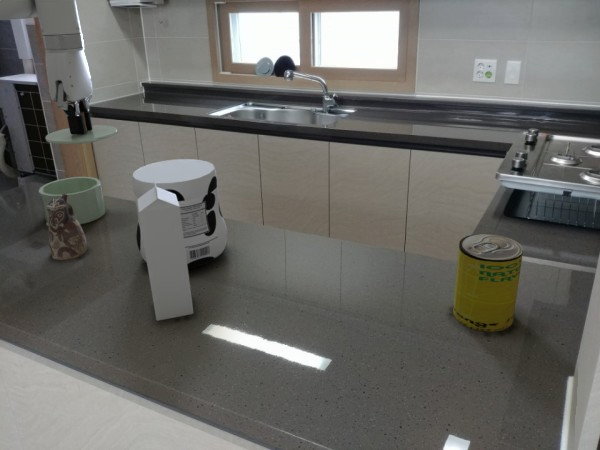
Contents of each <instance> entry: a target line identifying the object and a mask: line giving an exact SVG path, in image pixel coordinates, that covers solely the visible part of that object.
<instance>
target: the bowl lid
mask: <svg viewBox="0 0 600 450" xmlns="http://www.w3.org/2000/svg"><path fill="white" fill-rule="evenodd" d="M80 115H82V117H83V122H84V127H85V132H86V133H85V134H74V135H72V134H71V133H70V129H69V127H68V128H62V129H59V130H56V131H53V132H50V133H48V134H46V135H45V141H46V142H47V143H50V144H56V145H82V144H83V145H85V144H91V143H97V142H100V141H102V140H105V139H108V138H111V137H114V136H116V135H117V134H118V133H119V132H118V128H117V127H115V126H113V125H103V124H102V125H101V124H96V125H94V124H92V130H91V131H88V130H87V125H86V120H85V115H84V112H83V111H80Z"/></svg>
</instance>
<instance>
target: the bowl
mask: <svg viewBox="0 0 600 450" xmlns="http://www.w3.org/2000/svg"><path fill="white" fill-rule="evenodd" d="M63 194H67V195H68V197H67V203H68V204H70V205H71V206H72V208H73V211H74V218H76V219H77V220H78V222H79V223H80V225H84V224H87V223H91V222H93V221H95V220H98V219H99V218H101V217H103V216H104V215H105V214H106V203H105V197H104V192H103V186H102V181H101V180H100V179H99V178H97V177H91V176H75V177H66V178H62V179H56V180H53V181H51V182H48V183H45V184H44V185H42V186H40V187H39V189H38V195H39V200H40V204H41V208H42V212H43V216H44V220H45V221H46V223H48V222H49V216H48V210H47V209H46V207H47V206H48V204H49V203H50V201H51V200H52V199H54V198H61V197H62V195H63Z"/></svg>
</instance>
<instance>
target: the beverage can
mask: <svg viewBox="0 0 600 450" xmlns="http://www.w3.org/2000/svg"><path fill="white" fill-rule="evenodd" d="M457 253H458V254H457V263H456V265H457V266H456V275H455V285H454V298H453V307H452V308H453V309H452V315H453V317H454V318H455V320H456V321H457V322H458V323H459V324H461V325H463V326H465V327H467V328H469V329H472V330H475V331H478V332H479V331H480V332H493V333H495V332H499V331H503V330H506V329H508V328H509V327H511V326H512V324H513V322H514V317H515V311H516V303H517V297H518V289H519V281H520V275H521V268H522V262H523V256H524V255H523V254H524V247H523V246H522V244H520V243H519V242H517V240H514V239H512V238H510V237H506V236H503V235H498V234H491V233H475V234H471V235H466V236H465V237H463V238H461V239H460V241H459V243H458V252H457Z"/></svg>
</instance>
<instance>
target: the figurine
mask: <svg viewBox="0 0 600 450" xmlns="http://www.w3.org/2000/svg"><path fill="white" fill-rule="evenodd" d="M67 197H68V195H67V194H63V195H62V197H61V198H54V199H52V200H51V201H50V203H49V204H48V206H47V207H46V209H47V210H48V216H49V222H48V223H47V222H46V223H45V225H46V226H47V227H48V237H49V238H48V239H49V242H48V243H49V245H48V246H49V251H50V253H51V257H52V259H53V260H58V261H63V260H72V259H76V258H79V257H81V256H83V255H84V254H85V253H86V252H87V250H88V241H87V238H86V234H85V232H84V230H83V227H82V224H80V223H79V222H78V220H77V219H76V218H74V211H73V208H72V206H71V205H70V204H68V203H67Z"/></svg>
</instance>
